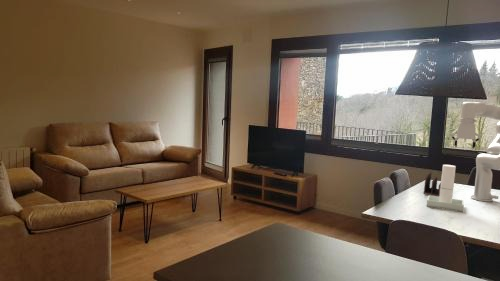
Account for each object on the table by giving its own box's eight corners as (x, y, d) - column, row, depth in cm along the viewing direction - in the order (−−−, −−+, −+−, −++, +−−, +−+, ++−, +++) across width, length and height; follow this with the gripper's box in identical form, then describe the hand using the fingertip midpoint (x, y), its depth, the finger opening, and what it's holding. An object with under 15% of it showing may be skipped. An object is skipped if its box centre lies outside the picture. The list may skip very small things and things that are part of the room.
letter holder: (423, 194, 267) (425, 174, 265) (428, 189, 283) (430, 170, 282) (438, 196, 261) (440, 176, 260) (443, 191, 278) (445, 172, 276)
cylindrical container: (451, 204, 238) (455, 165, 235) (451, 207, 232) (456, 167, 229) (438, 202, 241) (442, 164, 238) (438, 205, 235) (443, 165, 232)
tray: (462, 206, 238) (463, 200, 238) (463, 211, 226) (463, 205, 225) (427, 201, 247) (428, 195, 247) (426, 206, 235) (427, 200, 235)
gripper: (482, 122, 242) (479, 148, 244) (451, 120, 250) (449, 145, 252) (483, 122, 235) (480, 149, 237) (451, 120, 243) (449, 146, 245)
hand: (464, 147), depth 244 cm, fingers open, 9 cm apart
